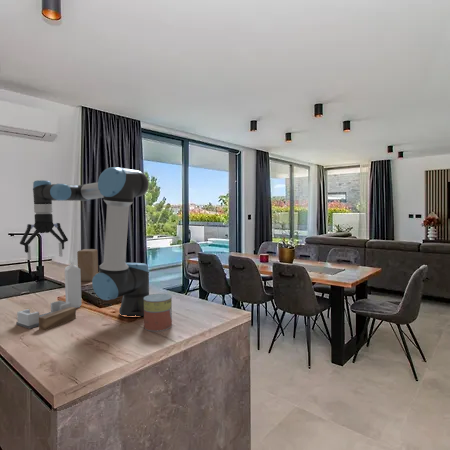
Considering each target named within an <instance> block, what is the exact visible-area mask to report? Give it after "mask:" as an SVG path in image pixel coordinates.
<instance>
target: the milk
mask: <svg viewBox="0 0 450 450" xmlns="http://www.w3.org/2000/svg"><path fill="white" fill-rule="evenodd" d="M64 289H65V290H64V291H65V292H64V293H65V302H69V303H71V307H75V308H76V309H77V308H81V307H80V306H81V305H83V304H82V281H81V272H80V268H78V266H76V265H75V263H74V262H73V261H70V264H69V265H68V266H66V267H64Z"/></svg>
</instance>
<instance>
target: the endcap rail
mask: <svg viewBox="0 0 450 450" xmlns="http://www.w3.org/2000/svg"><path fill="white" fill-rule="evenodd" d="M67 307H71V303H69V302H66V301H64V300H56V301H53V302H50V312H46V313H43V314H40V312H39V311H33V312H31V310H30V309H27V308H26V309H24V310H20V311H19V310H18V311H17V312H16V315H17V321H16V323H15V324H16V325H17V326H20V327H22V328H26V329H30V330H31V329H34V328H39V317H41V316H44V315H47V314H50V313H53V312H56V311H59V310H62V309H65V308H67Z"/></svg>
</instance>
